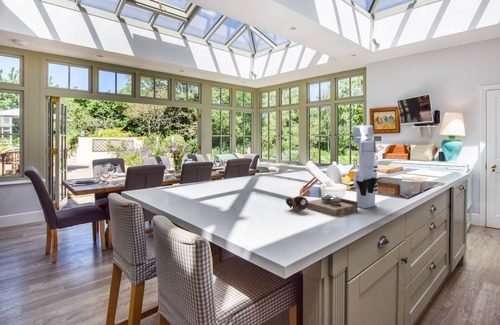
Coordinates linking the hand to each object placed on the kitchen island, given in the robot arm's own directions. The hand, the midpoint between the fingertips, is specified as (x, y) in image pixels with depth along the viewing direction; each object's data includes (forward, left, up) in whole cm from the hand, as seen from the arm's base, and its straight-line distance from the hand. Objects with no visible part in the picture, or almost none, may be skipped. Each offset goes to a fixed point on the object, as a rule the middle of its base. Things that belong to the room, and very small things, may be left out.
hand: (366, 194), depth 139 cm
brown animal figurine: (+22, -25, -10) cm, 35 cm away
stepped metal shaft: (+7, -13, -9) cm, 17 cm away
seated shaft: (+7, -19, -9) cm, 22 cm away
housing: (+7, -16, -9) cm, 20 cm away
